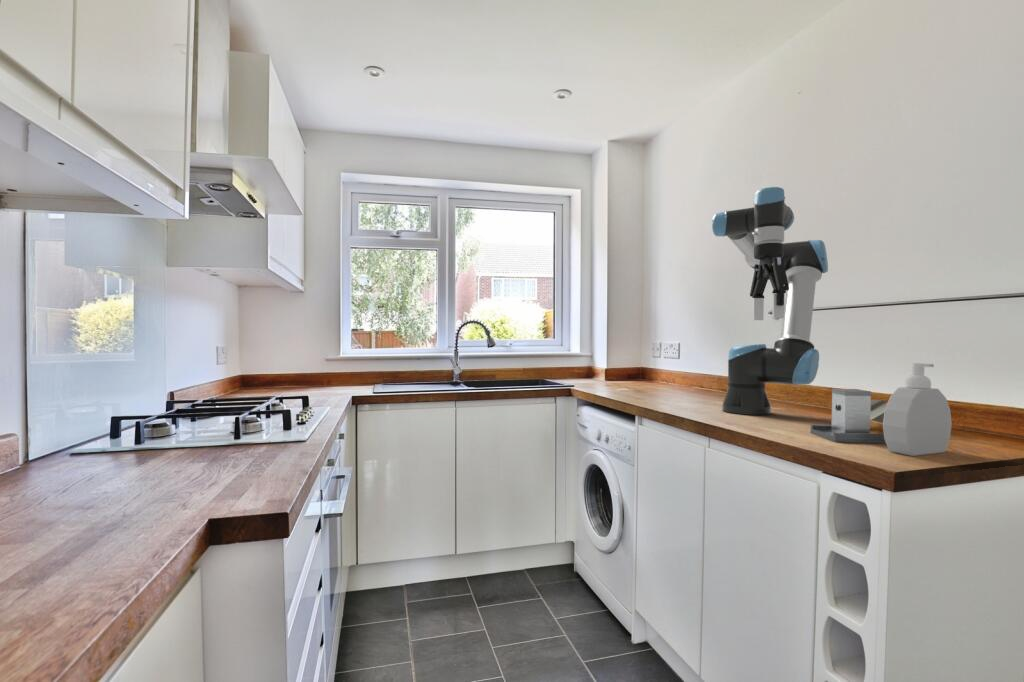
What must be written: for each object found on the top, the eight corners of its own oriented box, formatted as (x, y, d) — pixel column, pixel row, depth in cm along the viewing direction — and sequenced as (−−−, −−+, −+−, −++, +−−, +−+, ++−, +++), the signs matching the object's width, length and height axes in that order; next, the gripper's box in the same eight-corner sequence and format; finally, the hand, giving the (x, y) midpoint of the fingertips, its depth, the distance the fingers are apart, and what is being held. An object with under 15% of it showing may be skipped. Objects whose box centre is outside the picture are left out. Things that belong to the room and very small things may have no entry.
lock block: (830, 430, 131) (830, 388, 131) (855, 431, 130) (856, 388, 130) (843, 435, 125) (844, 390, 124) (870, 435, 124) (871, 391, 124)
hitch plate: (810, 432, 134) (810, 417, 134) (865, 434, 132) (866, 418, 132) (835, 442, 122) (835, 424, 122) (896, 443, 120) (896, 426, 120)
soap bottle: (908, 457, 106) (909, 364, 106) (881, 452, 111) (883, 363, 111) (953, 452, 112) (955, 363, 112) (926, 447, 117) (928, 362, 117)
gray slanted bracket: (887, 448, 135) (926, 411, 136) (863, 423, 136) (902, 387, 137) (849, 444, 151) (883, 412, 152) (828, 422, 153) (862, 390, 154)
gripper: (739, 251, 153) (738, 320, 153) (773, 235, 128) (772, 317, 128) (764, 251, 152) (763, 321, 152) (804, 234, 128) (803, 317, 128)
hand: (767, 319), depth 140 cm, fingers open, 13 cm apart
